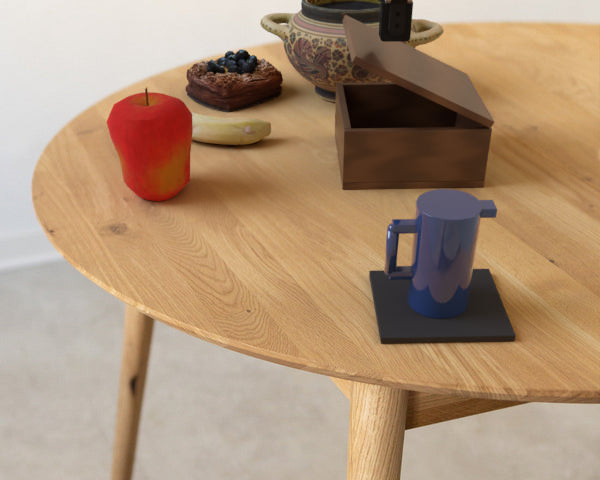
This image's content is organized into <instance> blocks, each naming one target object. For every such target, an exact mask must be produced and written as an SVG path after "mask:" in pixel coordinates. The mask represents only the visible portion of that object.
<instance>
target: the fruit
mask: <svg viewBox="0 0 600 480" xmlns="http://www.w3.org/2000/svg"><path fill="white" fill-rule="evenodd" d="M190 112H191V113H192V125H193V132H192V141H195V142H201V143H207V144H216V145H225V146H226V145H227V146H242V145H243V146H245V145H251V144H254V143H257V142H259V141H261V140H263V139H265V138H266V137H269V136H270V135H271V133H272V124H271V122H270V121H267V120H262V119H259V118H254V117H253V118H252V117H222V116H221V117H220V116H219V117H218V116H214V115H213V116H212V115H206V114H200V113H198V112H197V113H196V112H193V111H191V110H190Z"/></svg>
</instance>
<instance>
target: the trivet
mask: <svg viewBox="0 0 600 480" xmlns="http://www.w3.org/2000/svg"><path fill="white" fill-rule="evenodd" d="M368 278H369V282H370V288H371V294H372V299H373V306H374V312H375V316H376V323H377V330H378V336H379V341H380V342H379V343H380V344H425V343H426V344H427V343H429V344H431V343H479V342H481V343H482V342H485V343H486V342H515V341H516V337H517V336H516V332H515V330H514V327H513V325H512V323H511V319H510V318H509V315H508V313H507V310H506V307H505V306H504V303H503V300H502V298H501V296H500V293H499V290H498V288H497V285H496V282H495V280H494V278H493V275H492V273H491V271H490V269H489V268H473V275H472V281H471V288H470V295H469V302H468V307H467V309H466V310H465V311H464V312H463V313H462V314H460V315H458V316H456V317H453V318H447V319H437V318H430V317H426V316H424V315H421V314H419V313H417V312H416V311H414V310H413V309H412V308H411V307H410V305H409V303H408V300H407V297H408V286H409V280H390V279H389V276H387V275H386V274H385V272H384V270H383V269H382V270H369V273H368Z"/></svg>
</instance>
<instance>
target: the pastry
mask: <svg viewBox="0 0 600 480" xmlns="http://www.w3.org/2000/svg"><path fill="white" fill-rule="evenodd" d="M283 78H284V77H283V74H282V72H281V70H279V69H278V68H276V67H275V66H274V65H273V64H272V63H270V62H269V61H267V60H266V59H265V58H261V59H259V58H258V57H257V56H256V55H254V54H252V55H251V54H250V53H249V51H248V50H246V49H239V50H238V51H237V50H236V52H234V50H227V51H226V52H225V53H224V56H221V57H219V58H217V59H214V60H213V59H212V58H211V59H210V60H201V61H200V62H196V63H193V65H192V66H191V67H190V68H188V69H186V80H187V82H188V83H187V85H186V86H185V90H184V91H185V92H186V95H187V97H188V98H190V99H191V100H192V101H193V102H195V103H198V104H199V105H202V106H203V107H206V108H209V109H211V110H216V111H219V112H225V113H228V112H235V111H240V110H243V109H247V108H250V107H254V106H258V105H260V104H262V103H265V102H268V101H272V100H274V99H276V98H278V97H279V96H281V95H282V91H283V87H282V84H283V82H284V79H283Z"/></svg>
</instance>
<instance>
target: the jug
mask: <svg viewBox="0 0 600 480" xmlns="http://www.w3.org/2000/svg"><path fill="white" fill-rule="evenodd" d="M414 210H415V211H414V218H400V219H399V218H397V219H391V223H389V224H388V225H387V227H386V239H385V253H384V268H383V269H384V272H385V274H386V275H387V276H389V279H390V280H409V286H408V297H407V300H408V303H409V305H410V307H411V308H412V309H413V310H414V311H416V312H417V313H419V314H421V315H424V316H426V317H430V318H437V319H447V318H453V317H456V316H458V315H460V314H462V313H463V312H464V311H465V310H466V309H467V307H468V302H469V295H470V288H471V281H472V275H473V269H475V268H474V267H475V261H476V253H477V247H478V240H479V233H480V226H481V219H490V218H491V219H494V218H497V213H498V208H497V205H496V203H495V201H494V200H493V199H479V198H478V197H476V196H475V195H474V194H471V193H469V192H466V191H463V190H459V189H454V188H453V189H452V188H436V189H432V190H428V191H425V192H424V193H421V194H420V195H418V197H417V199H416V201H415V209H414ZM400 234H404V235H405V234H412V244H411V255H410V265H398V254H399V241H400Z"/></svg>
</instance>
